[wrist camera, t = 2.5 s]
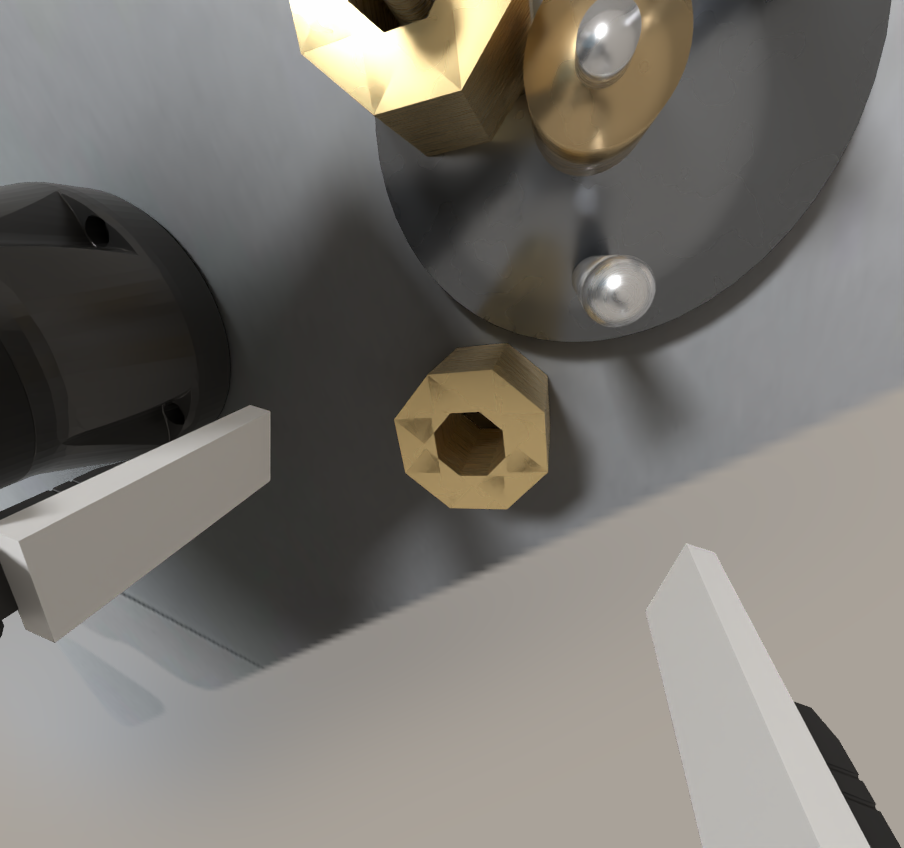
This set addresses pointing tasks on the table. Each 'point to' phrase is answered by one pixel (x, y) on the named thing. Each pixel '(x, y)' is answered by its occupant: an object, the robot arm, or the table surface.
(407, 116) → the planet gear
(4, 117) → the table surface
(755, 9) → the carrier
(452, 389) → the planet gear
